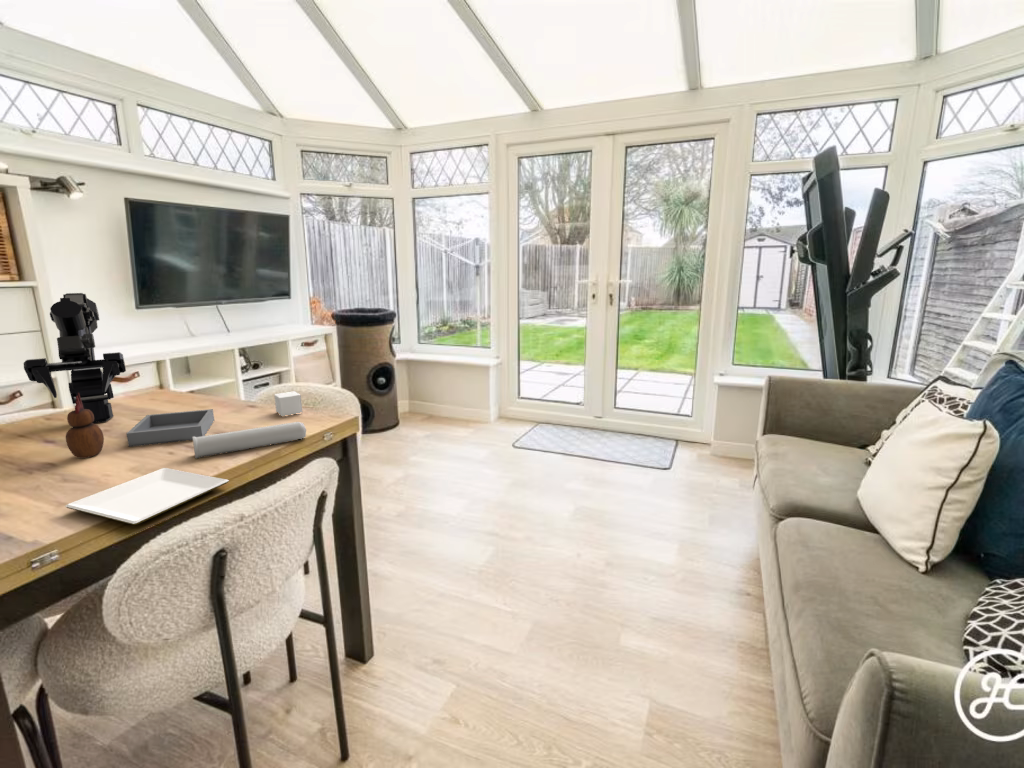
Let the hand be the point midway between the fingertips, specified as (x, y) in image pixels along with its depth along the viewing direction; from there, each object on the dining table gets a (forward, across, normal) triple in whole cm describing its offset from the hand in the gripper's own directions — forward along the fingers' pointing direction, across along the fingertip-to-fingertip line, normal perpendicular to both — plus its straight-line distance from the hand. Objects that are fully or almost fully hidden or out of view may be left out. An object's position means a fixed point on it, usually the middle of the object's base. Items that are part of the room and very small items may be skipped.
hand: (80, 394), depth 122 cm
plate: (+42, +12, -22) cm, 49 cm away
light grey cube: (+9, +47, +11) cm, 49 cm away
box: (+10, +18, +9) cm, 22 cm away
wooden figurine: (+15, 0, +4) cm, 16 cm away
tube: (+27, +33, -8) cm, 43 cm away
